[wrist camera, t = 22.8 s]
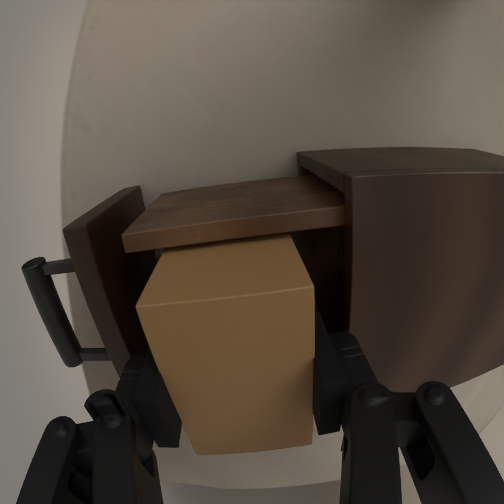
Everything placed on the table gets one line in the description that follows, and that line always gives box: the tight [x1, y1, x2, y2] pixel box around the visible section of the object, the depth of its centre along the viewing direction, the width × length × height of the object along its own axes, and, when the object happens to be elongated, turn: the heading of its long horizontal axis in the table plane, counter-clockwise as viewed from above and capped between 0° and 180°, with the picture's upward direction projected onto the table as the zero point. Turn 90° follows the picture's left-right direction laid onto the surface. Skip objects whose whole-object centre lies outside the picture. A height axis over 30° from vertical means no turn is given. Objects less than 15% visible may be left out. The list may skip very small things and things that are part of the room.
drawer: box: [22, 174, 346, 377], centre depth 17 cm, size 19×11×8 cm, turn 97°
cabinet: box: [297, 147, 504, 392], centre depth 17 cm, size 15×13×10 cm
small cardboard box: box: [136, 232, 315, 455], centre depth 12 cm, size 8×5×6 cm, turn 7°
